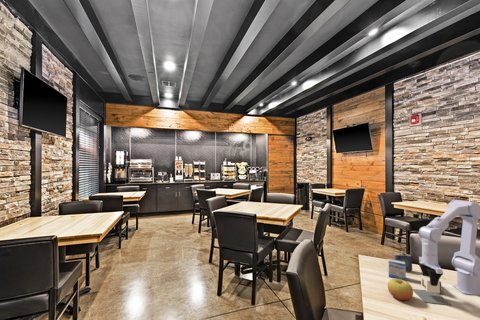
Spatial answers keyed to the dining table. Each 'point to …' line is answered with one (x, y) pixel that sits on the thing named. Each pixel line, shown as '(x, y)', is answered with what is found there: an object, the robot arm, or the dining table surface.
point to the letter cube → (429, 285)
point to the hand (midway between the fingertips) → (430, 282)
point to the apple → (400, 289)
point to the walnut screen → (440, 290)
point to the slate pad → (431, 297)
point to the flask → (404, 260)
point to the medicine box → (397, 269)
